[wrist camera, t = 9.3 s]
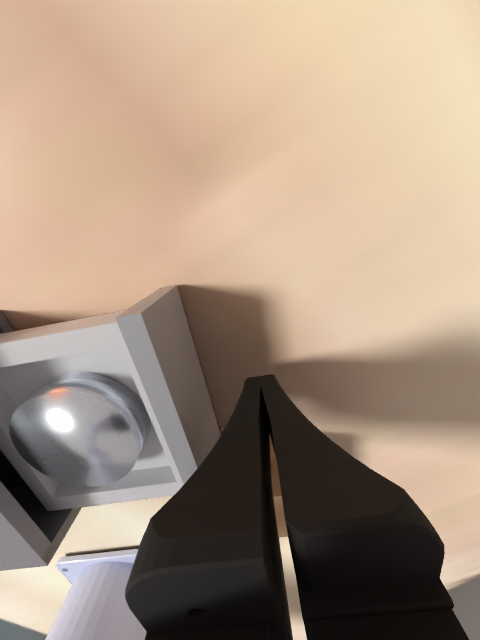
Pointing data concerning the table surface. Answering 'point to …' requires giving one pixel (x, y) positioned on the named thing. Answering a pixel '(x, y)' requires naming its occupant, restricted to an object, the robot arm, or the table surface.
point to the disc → (81, 429)
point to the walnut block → (277, 494)
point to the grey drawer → (132, 370)
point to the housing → (26, 516)
